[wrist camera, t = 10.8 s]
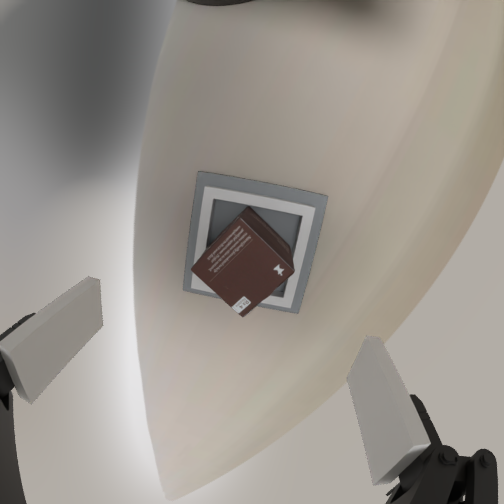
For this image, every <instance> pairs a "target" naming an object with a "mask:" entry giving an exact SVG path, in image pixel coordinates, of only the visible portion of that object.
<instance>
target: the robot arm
mask: <svg viewBox="0 0 504 504" xmlns="http://www.w3.org/2000/svg"><path fill="white" fill-rule="evenodd" d="M188 1H191V2H194V3H199V4H205V5H229V4H237V3H242V2H247V1H251V0H188ZM100 292H101V290H100V280H99V279H95V278H92V277H89V276H88V277H87V278H85V279H84V280H82V281H81V282H79V283H78V284H76V285H75V286H73V287H72V288H71V289H69V290H68V291H66V292H65V293H64V294H62V295H61V296H59V297H58V298H56V299H55V300H54V301H52V302H51V303H50V304H48V305H47V306H45V307H44V308H43V309H41V310H40V311H39V312H37V313H32V314H30V315H27V316H25V317H23V318H22V319H21V320H19V321H18V323H15V324H14V325H13V326H12V328H9V329H8V330H6V331H5V332H4V333H3V334H1V335H0V504H26V500H25V496H24V492H23V488H22V483H21V478H20V472H19V466H18V460H17V452H16V444H15V434H14V419H13V395H12V392H11V390H12V389H13V388H14V387H15V388H16V390H17V392H18V395H19V396H20V397H21V398H23V399H24V400H26V401H27V402H28V403H30V404H32V403H33V402H34V401H35V400H36V399H37V398H38V396H39V395H40V394H41V393H42V392H43V391H44V389H45V388H46V387H47V386H48V385H49V384H50V383H51V382H52V380H53V379H54V378H55V377H56V376H57V375H58V374H59V373H60V371H61V370H62V369H63V368H64V367H65V366H66V365H67V363H68V362H70V360H71V359H72V358H73V357H74V356H75V355H76V354H77V353H78V352H79V351H80V349H82V347H83V346H84V345H85V344H86V343H87V342H88V341H89V340H90V339H91V338H92V337H93V336H94V335H95V334H96V333H97V332H98V331H99V330H100V329H101V327H102V326H103V320H102V319H103V318H102V306H101V293H100ZM347 381H348V385H349V389H350V392H351V396H352V399H353V403H354V407H355V411H356V414H357V418H358V422H359V426H360V430H361V434H362V438H363V443H364V447H365V451H366V455H367V459H368V464H369V469H370V473H371V478H372V483H373V485H381V484H388V483H391V482H392V481H393V480H394V479H395V478H397V477H398V476H399V479H400V483H399V484H397V485H396V486H395V487H394V488H393V489H391V490H390V491H389V492H388V493H387V494H386V495H387V496H388V495H390V494H391V493H392V494H391V496H390V497H389V499H388V501H387V502H386V504H498V476H497V462H496V458H495V456H494V455H493V453H492V452H490V451H489V450H487V449H480V450H478V451H477V452H476V453H475V454H474V455H473V456H472V457H466V456H459V455H458V453H457V452H456V451H455V449H453V448H452V447H450V446H447V445H442V443H441V441H440V438H439V436H438V434H437V432H436V430H435V427H434V425H433V423H432V421H431V420H430V417H429V415H428V413H426V412H427V411H426V409H425V407H424V405H423V403H422V401H421V400H420V399H419V398H418V397H417V396H416V395H409V393H408V391H407V389H406V387H405V385H404V383H403V381H402V379H401V377H400V375H399V373H398V371H397V369H396V367H395V365H394V363H393V361H392V359H391V357H390V355H389V354H388V352H387V350H386V348H385V346H384V344H383V342H382V340H381V338H380V337H375V336H367V335H366V337H365V339H364V342H363V344H362V346H361V348H360V351H359V353H358V355H357V357H356V359H355V362H354V364H353V366H352V368H351V370H350V372H349V374H348V376H347ZM464 495H465V501H463V496H464Z"/></svg>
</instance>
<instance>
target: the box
mask: <svg viewBox="0 0 504 504" xmlns="http://www.w3.org/2000/svg"><path fill="white" fill-rule="evenodd" d="M191 271H192V272H193V273H194V274H195V275H196V276H197V277H198V278H199V279H201V280H202V281H203V282H204V283H205V284H206V285H207V286H208V287H209V288H210V289H212V290H213V291H214V292H215V293H216V294H217V295H218V296H219V297H220V298H222V299H223V300H224V301H225V302H226V303H227V304H228V305H229V306H230V307H231V308H232V309H234V310H235V311H236V312H237V313H238V314H239V315H241V316H242V317H244V316H246V315H247V314H248V313H249V312H250V311H252V310H253V309H254V308H255V307H256V306H257V305H258V304H260V303H261V302H262V301H263V300H265V299H266V298H267V297H269V296H270V295H271V294H272V293H273V291H274V290H275V289H277V288H278V287H279V286H280V285H281V284H282V283H284V282H285V281H286V280H287V279H288V278H289V277H290V276H291V275H293V274H294V272H295V269H294V263H293V259H292V253H291V248H290V245H289V244H288V243H287V242H286V241H285V240H284V239H283V238H282V237H281V236H280V235H279V234H278V233H277V232H276V231H275V230H274V229H273V228H272V227H271V226H270V225H269V224H268V223H267V222H266V221H264V220H263V219H262V218H261V217H260V216H259V215H258V214H257V213H256V212H255V211H254V210H253V209H252V208H251V207H250V206H247V207H246V208H245V209H244V210H243V211H242V212H241V213H240V214H239V215H238V216H237V217H236V218H235V219H234V220H233V221H232V222H231V223H230V224H229V225H228V226H227V227H226V228H225V229H224V230H223V231H222V232H221V233H220V234H219V235H218V236H217V238H216V239H215V240H214V241H213V242H212V243H211V244H210V245H209V246H208V247H207V249H206V250H205V251H204V252H203V254H202V255H201V256H200V258H199V259H198V260H197V261H196V263H195V264H194V265H193V266H192V268H191Z"/></svg>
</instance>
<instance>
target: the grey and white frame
mask: <svg viewBox="0 0 504 504" xmlns="http://www.w3.org/2000/svg"><path fill="white" fill-rule="evenodd" d="M327 199H328V196H326V195H322V194H317V193H313V192H308V191H304V190H299V189H295V188H290V187H285V186H280V185H275V184H270V183H265V182H260V181H255V180H249V179H244V178H238V177H232V176H227V175H220V174H214V173H208V172H201V171H198V176H197V182H196V189H195V195H194V202H193V209H192V216H191V223H190V231H189V239H188V247H187V255H186V264H185V274H184V283H183V291H188V292H192V293H197V294H201V295H205V296H210V297H215V298H219V299H222V298H220V297H219V296H218V295H217V294H216V293H215V292H214V291H213V290H212V289H210V288H209V287H208V286H207V285H206V284H205V283H204V282H203V281H202V280H201V279H199V278H198V277H197V276H196V275H195V274H194V273H193V272H192V271H191V268H192V266H193V265H194V264H195V263H196V261H197V260H198V259H199V258H200V256H201V255H202V254H203V252H204V251H205V250H206V249H207V247H208V246H209V245H210V244H211V243H212V242H213V241H214V240H215V239H216V238H217V236H218V235H219V234H220V233H221V232H222V231H223V230H224V229H225V228H226V227H227V226H228V225H229V224H230V223H231V222H232V221H233V220H234V219H235V218H236V217H237V216H238V215H239V214H240V213H241V212H242V211H243V210H244V209H245V208H246V207H247V206H250V207H251V208H252V209H253V210H254V211H255V212H256V213H257V214H258V215H259V216H260V217H261V218H262V219H263V220H264V221H266V222H267V223H268V224H269V225H270V226H271V227H272V228H273V229H274V230H275V231H276V232H277V233H278V234H279V235H280V236H281V237H282V238H283V239H284V240H285V241H286V242H287V243H288V244H289V245H290V248H291V253H292V259H293V263H294V269H295V272H294V274H293V275H291V276H290V277H289V278H288V279H287V280H286V281H285V282H284V283H282V284H281V285H280V286H279V287H278V288H277V289H275V290H274V291H273V293H272V294H271V295H270V296H269V297H267V298H266V299H265V300H263V301H262V302H261V303H260V304H258V305H257V306H259V307H264V308H269V309H274V310H280V311H285V312H291V313H297V314H298V313H299V310H300V306H301V303H302V299H303V296H304V292H305V288H306V285H307V281H308V277H309V274H310V270H311V266H312V262H313V258H314V254H315V250H316V246H317V242H318V238H319V234H320V230H321V226H322V221H323V217H324V213H325V208H326V204H327Z"/></svg>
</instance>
